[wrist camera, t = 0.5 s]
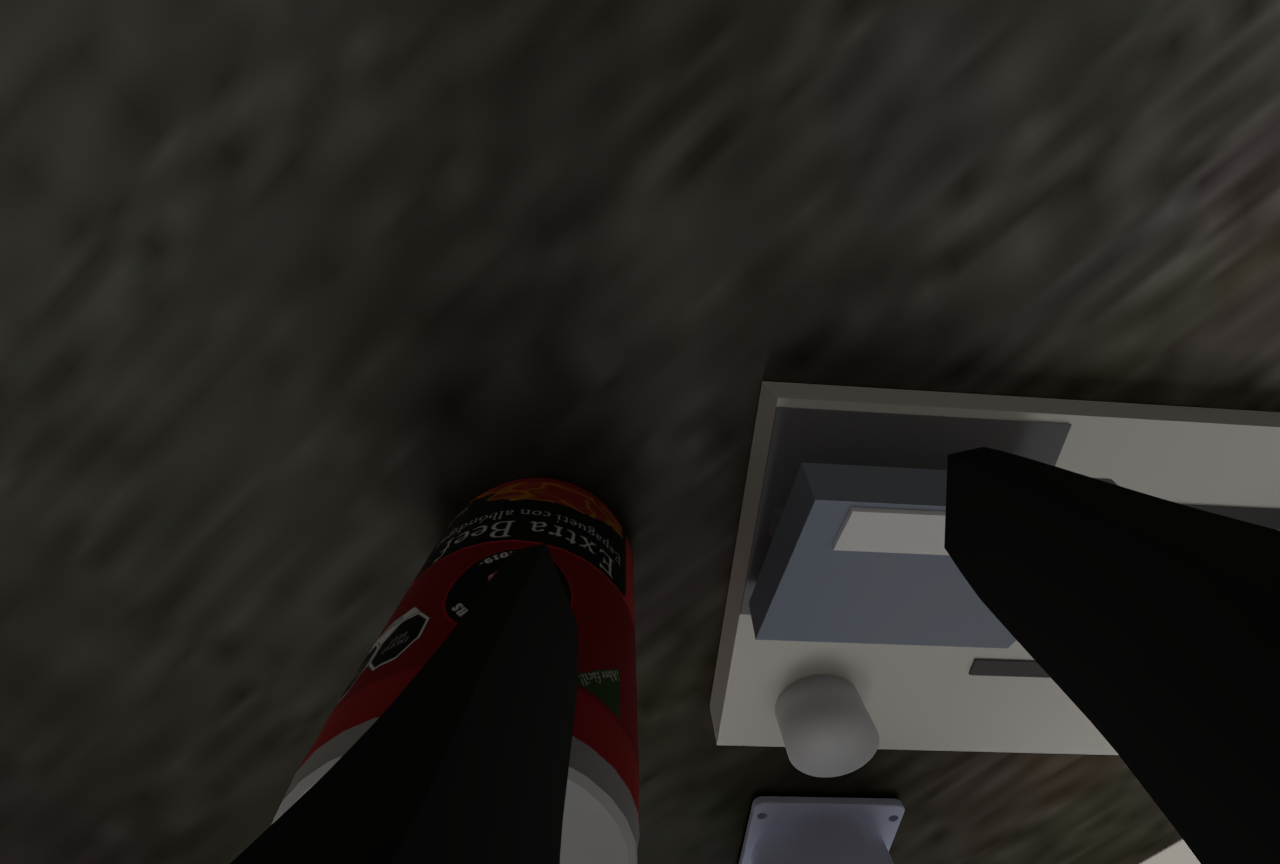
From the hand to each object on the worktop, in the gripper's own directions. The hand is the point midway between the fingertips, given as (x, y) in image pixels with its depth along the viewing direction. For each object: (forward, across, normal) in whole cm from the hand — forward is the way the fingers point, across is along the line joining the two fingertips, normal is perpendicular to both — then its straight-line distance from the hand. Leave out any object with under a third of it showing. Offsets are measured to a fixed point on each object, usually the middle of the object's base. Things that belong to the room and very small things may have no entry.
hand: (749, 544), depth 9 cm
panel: (+9, -12, +12) cm, 19 cm away
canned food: (+10, +7, +6) cm, 14 cm away
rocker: (+5, -6, +6) cm, 10 cm away
